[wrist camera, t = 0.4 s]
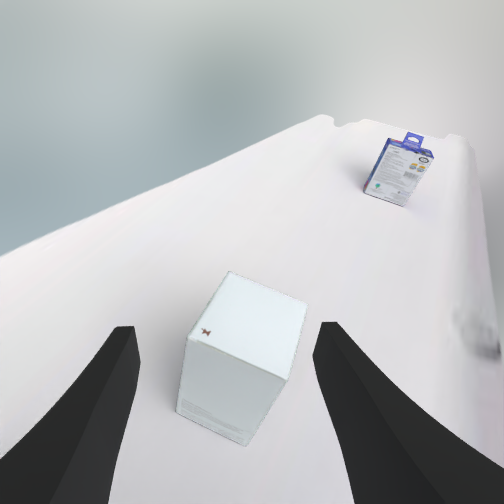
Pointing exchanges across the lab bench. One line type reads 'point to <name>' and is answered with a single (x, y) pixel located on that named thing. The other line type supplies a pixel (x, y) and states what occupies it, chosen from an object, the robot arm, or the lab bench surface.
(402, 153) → the ink cartridge box
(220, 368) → the supplement box
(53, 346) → the lab bench surface
